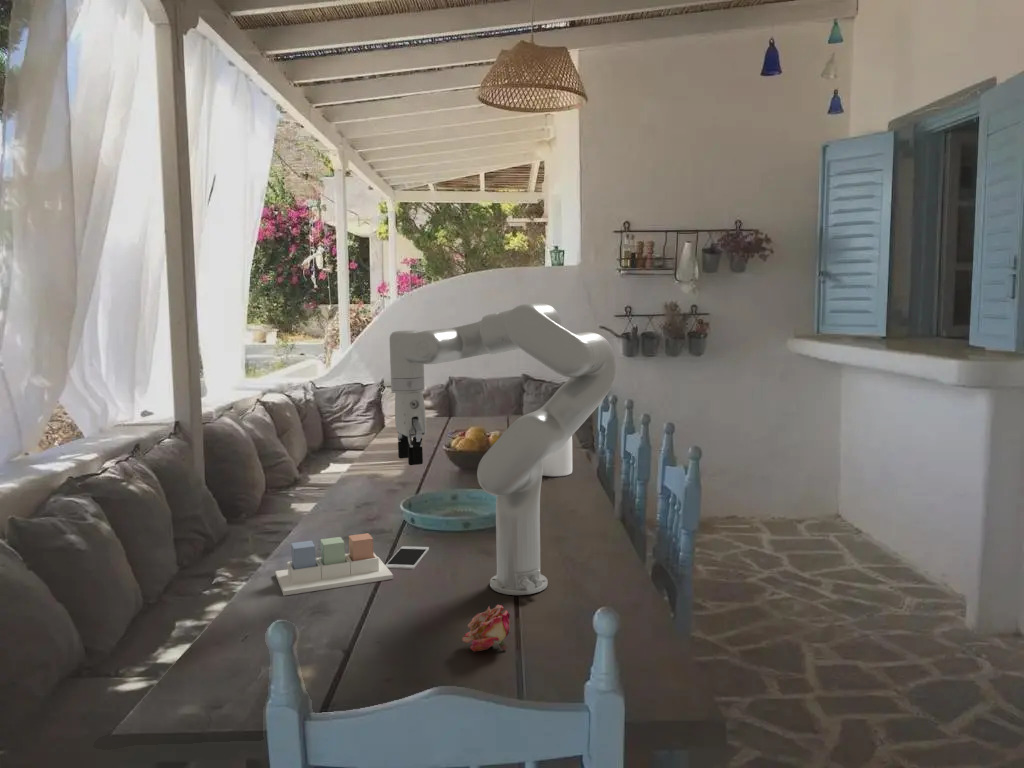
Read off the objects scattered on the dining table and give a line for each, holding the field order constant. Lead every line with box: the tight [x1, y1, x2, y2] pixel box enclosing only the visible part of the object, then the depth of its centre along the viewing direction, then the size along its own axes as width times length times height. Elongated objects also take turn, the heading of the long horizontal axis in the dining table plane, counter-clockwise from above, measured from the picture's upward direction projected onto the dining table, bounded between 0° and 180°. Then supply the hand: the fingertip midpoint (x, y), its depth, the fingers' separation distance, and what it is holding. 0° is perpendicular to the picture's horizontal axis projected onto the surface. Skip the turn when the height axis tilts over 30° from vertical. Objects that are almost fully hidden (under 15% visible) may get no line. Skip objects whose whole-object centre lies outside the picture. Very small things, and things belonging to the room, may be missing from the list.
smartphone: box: [385, 545, 430, 570], centre depth 198 cm, size 7×16×1 cm, turn 172°
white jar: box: [542, 435, 573, 478], centre depth 287 cm, size 12×12×20 cm
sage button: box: [319, 536, 346, 565], centre depth 184 cm, size 5×5×5 cm
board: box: [274, 551, 394, 596], centre depth 185 cm, size 14×24×4 cm, turn 113°
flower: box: [462, 604, 512, 653], centre depth 146 cm, size 10×9×8 cm
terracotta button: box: [348, 532, 374, 561], centre depth 187 cm, size 5×5×5 cm
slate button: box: [290, 540, 317, 569], centre depth 182 cm, size 5×5×5 cm
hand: (410, 460), depth 186 cm, fingers open, 7 cm apart
